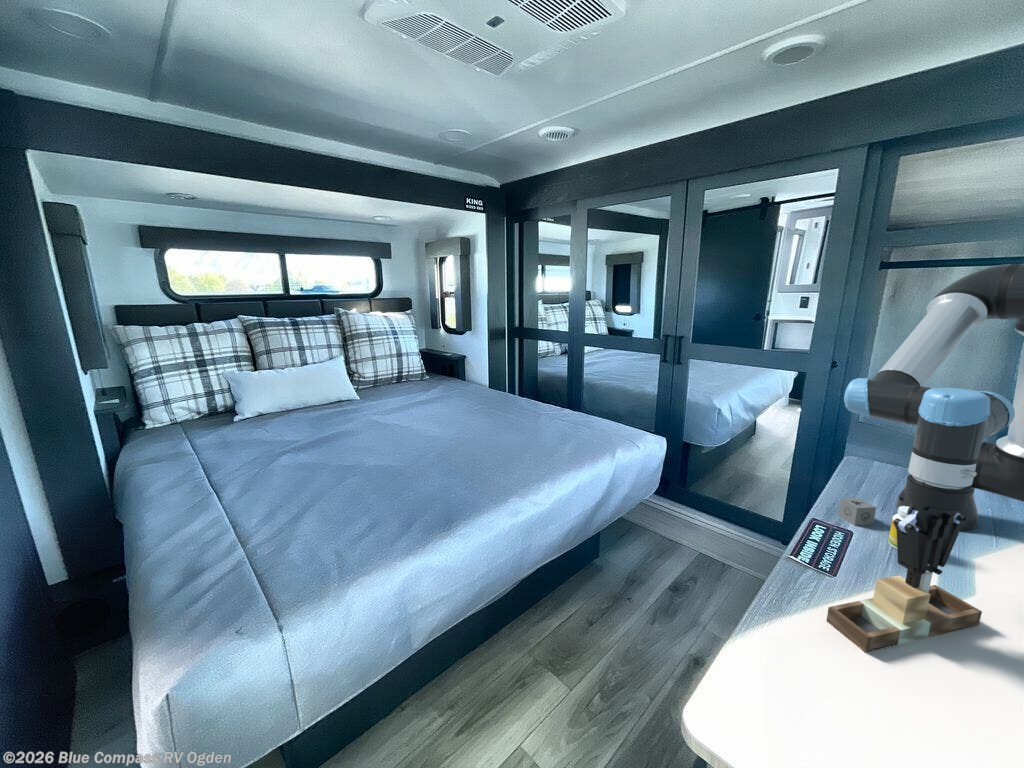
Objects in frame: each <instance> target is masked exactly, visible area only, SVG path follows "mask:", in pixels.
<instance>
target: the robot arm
mask: <svg viewBox="0 0 1024 768" xmlns="http://www.w3.org/2000/svg"><path fill="white" fill-rule="evenodd" d="M985 320H1014V321H1015V326H1014V331H1016V332H1017V333H1018V334H1020V335H1021V336H1023V337H1024V263H1006V264H1004V263H1003V264H999V265H995V266H994V265H993V266H989V267H986V268H983V269H979V270H977V271H975V272H972V273H969V274H967V275H965V276H964V277H963V276H962V277H961V278H959V279H957V280H956V281H954V282H953V283H951V284H949V285H948V286H946V287H944V288H942V290H941V291H939V292H938V293H937V294H936V295H935V296H934V297H933V298H932V299H931V300H930V301H929V303H928V304H927V307H926V314H925V316H924V317H923V318H922V320H920V322H918V324H917V326H916V327H915V328H914V329H913V330H912V331H911V332H910V334H909V335H908V337H906V339H904V340H903V342H902V344H901V345H900V346H899V347H898V348H897V349H896V350H895V352H894V353H893V354H892V355H891V357H890V358H889V359H888V360H887V361H886V362H885V364H884V365H883V366H882V367H881V369H880V370H879V371H878V372H877V373H876V374H875V375H874V376H873V377H872V379H870V378H868V377H864V378H863V377H862V378H861V377H858V378H855V379H852V380H851V381H850V382H849V383H848V385H847V386H846V388H845V390H844V391H845V392H844V397H843V399H844V400H843V401H844V406H845V408H846V409H847V411H849V412H850V413H854V414H858V415H862V416H865V417H869V418H875V419H882V420H885V421H886V420H887V421H892V422H897V423H901V424H907V425H912V426H916V429H915V434H914V435H915V436H914V441H913V442H914V443H913V447H912V451H911V455H910V461H909V464H908V470H907V471H908V473H909V474H908V475H907V477H906V483H905V486H904V488H903V489H902V491H901V492H900V493H899V495H898V496H897V498H896V504H895V506H896V508H897V509H898V508H899V507H900V506H908V507H909V509H908V511H907V514H908V516H907V517H906V518H905V519H903V520H900V519H898V518H896V519H895V520H894V522H893V523H894V525H895V528H896V530H897V549H896V550H897V554H896V555H897V564H898V565H900V566H902V567H904V569H907V571H906V576H905V579H906V580H905V582H906V584H908V585H910V586H911V587H913V588H921V589H922V590H924V591H926V592H928V593H929V588H930V586H931V581H932V578H933V574H936V575H938V576H940V575H941V574H942V573H943V570H941V569H939V568H938V567H941V568H945V566H946V564H947V562H948V560H949V558H950V555H951V553H952V550H953V548H954V547H955V543H956V542H957V539H958V537H959V534H960V531H970V530H974V529H976V528H977V527H978V524H979V520H980V519H979V518H980V517H979V513H978V509H977V505H976V500H975V495H974V494H975V489H976V490H980V491H983V492H986V493H987V492H988V493H991V494H995V495H999V496H1001V497H1005V498H1009V499H1013V500H1016V501H1020V502H1023V503H1024V342H1023V343H1022V349H1021V355H1020V361H1019V365H1018V366H1019V367H1018V374H1017V379H1016V385H1015V392H1014V395H1013V402H1012V403H1011V401H1010V400H1009V399H1007V398H1006V397H1004V396H1003V395H1001V394H999V393H996V392H993V391H988V390H972V389H966V388H958V387H957V388H956V387H927V386H926V384H928V382H929V381H930V380H931V378H932V377H933V376H934V375H935V374H936V372H937V371H938V369H939V368H940V367H941V366H942V364H943V363H944V362H945V361H947V358H949V356H950V354H951V353H952V352H953V350H955V348H957V346H958V345H959V343H960V342H961V341H962V340H963V338H964V337H965V336H966V335H967V334H968V332H969V331H970V330H971V329H973V328H975V327H978V326H979V325H981V324H983V323H984V322H985ZM1007 427H1008V430H1007V435H1005V436H1003V437H1000V438H998V439H996V441H995V443H991V442H988V437H991V436H993V435H997V434H999V433H1001V432H1003V431H1004V430H1006V429H1005V428H1007Z"/></svg>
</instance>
